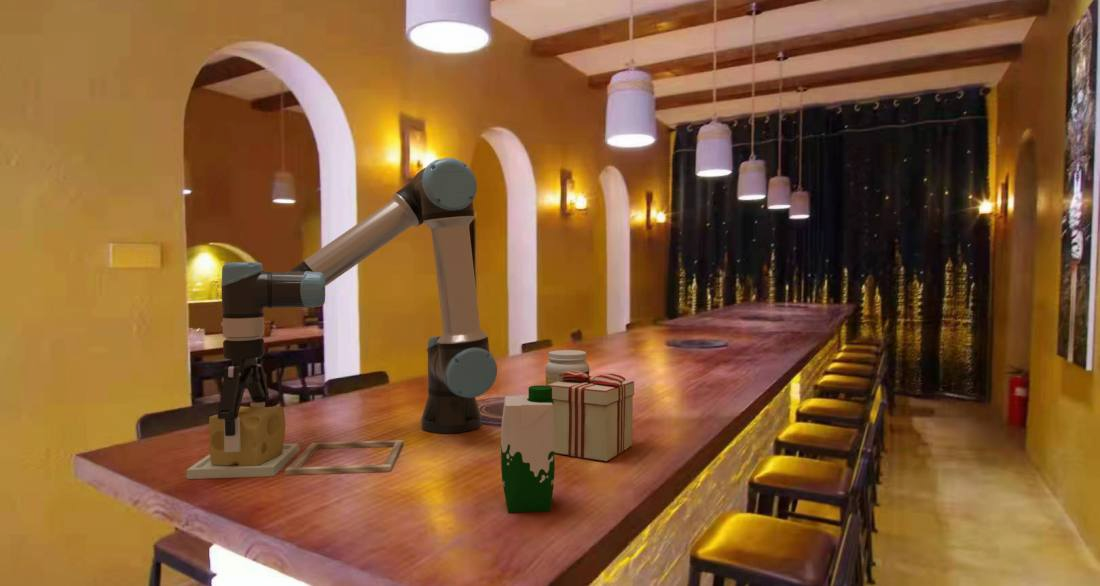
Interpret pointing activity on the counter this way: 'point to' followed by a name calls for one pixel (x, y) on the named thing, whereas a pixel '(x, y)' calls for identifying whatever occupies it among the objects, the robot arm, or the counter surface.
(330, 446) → the wooden square frame
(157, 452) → the counter surface
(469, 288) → the robot arm
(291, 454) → the plate
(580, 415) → the gift box
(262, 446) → the cheese
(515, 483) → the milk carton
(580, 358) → the supplement tub
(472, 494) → the counter surface
